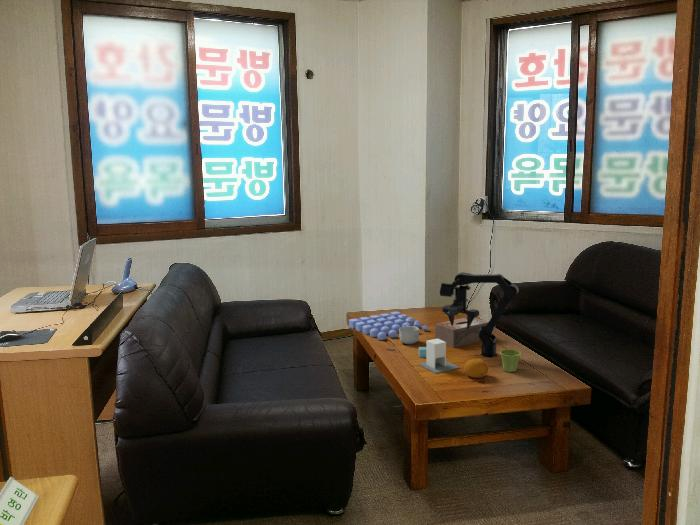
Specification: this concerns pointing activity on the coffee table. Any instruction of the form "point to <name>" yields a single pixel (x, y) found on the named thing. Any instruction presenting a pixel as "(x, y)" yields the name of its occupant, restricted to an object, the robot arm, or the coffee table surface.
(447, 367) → the mat
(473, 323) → the tissue box cover
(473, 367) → the fruit
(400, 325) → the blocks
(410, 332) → the teacup
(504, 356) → the plant pot
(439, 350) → the tall white pillar
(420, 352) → the block
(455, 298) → the robot arm
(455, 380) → the coffee table surface
